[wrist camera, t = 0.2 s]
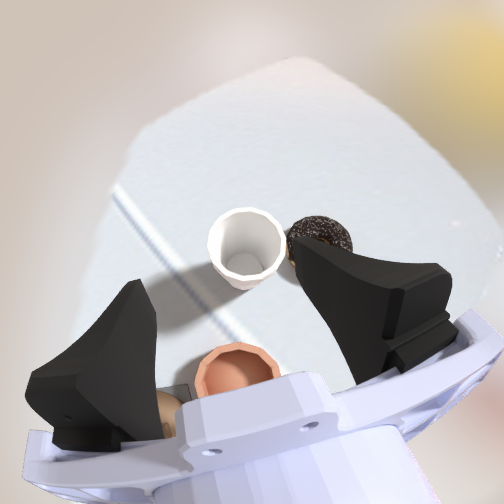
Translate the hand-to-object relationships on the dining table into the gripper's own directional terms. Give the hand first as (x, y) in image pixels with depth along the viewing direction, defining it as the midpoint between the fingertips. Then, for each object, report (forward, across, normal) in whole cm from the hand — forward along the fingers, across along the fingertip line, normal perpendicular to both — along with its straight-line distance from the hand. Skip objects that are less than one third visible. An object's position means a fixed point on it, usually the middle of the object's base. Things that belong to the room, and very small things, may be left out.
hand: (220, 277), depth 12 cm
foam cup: (+27, -4, +18) cm, 33 cm away
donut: (+28, -17, +18) cm, 37 cm away
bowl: (+15, +2, +29) cm, 33 cm away
